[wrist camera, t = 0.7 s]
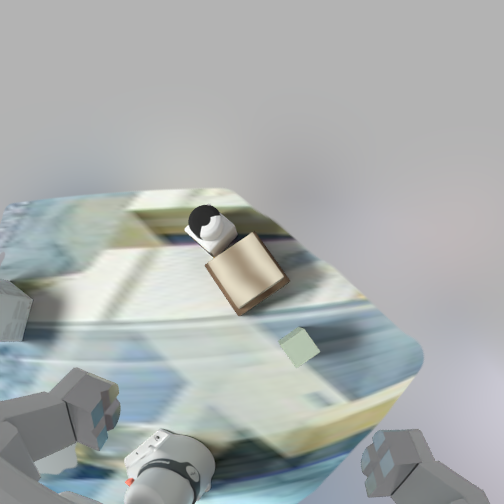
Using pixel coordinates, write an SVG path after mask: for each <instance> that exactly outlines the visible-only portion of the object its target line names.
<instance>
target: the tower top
mask: <svg viewBox="0 0 504 504" xmlns="http://www.w3.org/2000/svg"><path fill="white" fill-rule="evenodd" d="M208 264H209V266H210V267H211V269H212V270H213V272H214V274H215V275H216V277H217V278H218V280H219V281H220V283H221V284H222V286H223V287H224V288H225V290H226V291H227V293H228V294H229V296H230V297H231V299H232V300H233V302H234V303H235V305H236V306H237V308H239V309H240V308H242V307H243V306H245V305H246V304H248V303H249V302H250V301H252V300H253V299H255V298H256V297H258V296H259V295H261V294H262V293H264V292H265V291H266V290H268V289H269V288H271V287H272V286H274V285H275V284H277V283H278V282H279V281H281V280H282V279H283V278H284V276H283V274H282V273H281V272H280V270H279V269H278V267H277V266H276V265H275V263H274V262H273V260H272V259H271V258H270V256H269V255H268V253H267V252H266V251H265V249H264V248H263V246H262V245H261V244H260V242H259V241H258V239H257V238H256V237H255V235H254V234H253V232H252V233H251V234H249V235H248V236H246V237H245V238H243V239H242V240H240V241H239V242H237V243H236V244H234V245H233V246H231V247H230V248H228V249H227V250H225V251H224V252H223V253H221V254H220V255H218V256H217V257H215V258H214V259H212V260H211V261H209V262H208Z"/></svg>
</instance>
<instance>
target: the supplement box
mask: <svg viewBox="0 0 504 504" xmlns="http://www.w3.org/2000/svg"><path fill="white" fill-rule="evenodd" d="M32 302H33V299H32V298H30V297H29V296H28V295H26V294H25V293H24V292H23V291H21V290H20V289H19V288H18V287H16V286H15V285H14V284H13V283H11V282H10V281H7V280H3V279H0V342H22V339H23V335H24V331H25V327H26V323H27V320H28V316H29V312H30V309H31V305H32Z"/></svg>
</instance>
